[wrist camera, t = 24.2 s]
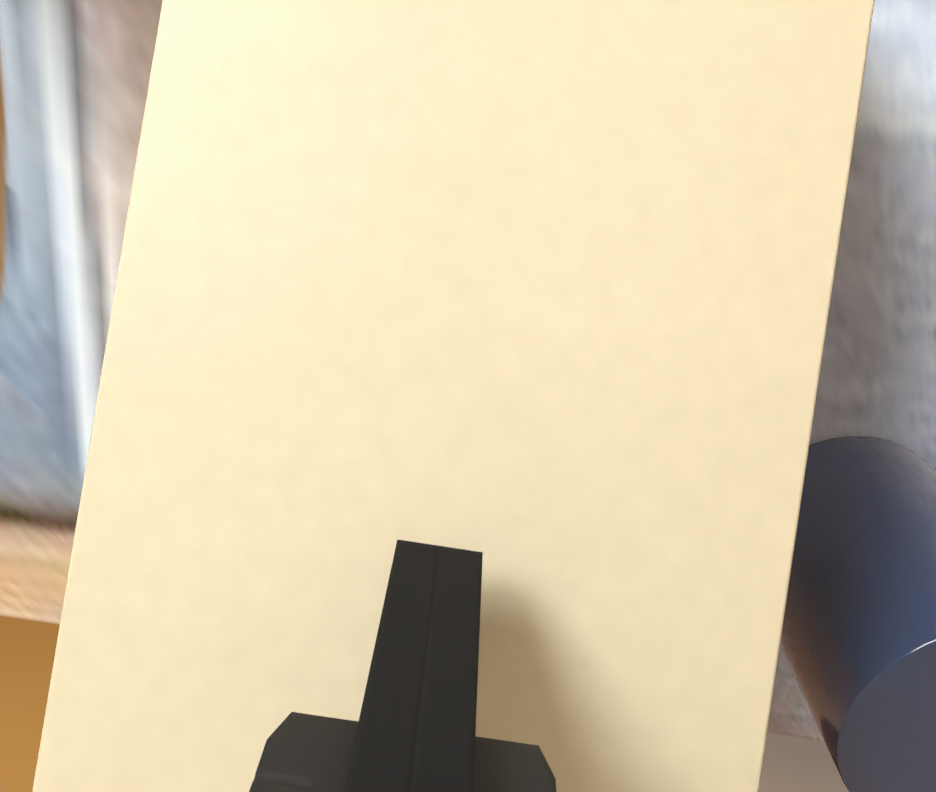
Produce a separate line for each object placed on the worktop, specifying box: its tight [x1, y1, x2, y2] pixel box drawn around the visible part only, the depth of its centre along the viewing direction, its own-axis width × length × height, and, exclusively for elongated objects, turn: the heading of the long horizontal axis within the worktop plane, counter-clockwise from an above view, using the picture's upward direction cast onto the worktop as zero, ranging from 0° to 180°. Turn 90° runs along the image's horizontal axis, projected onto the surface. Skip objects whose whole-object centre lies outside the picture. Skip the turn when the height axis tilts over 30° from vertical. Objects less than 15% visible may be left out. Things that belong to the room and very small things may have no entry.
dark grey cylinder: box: [780, 437, 936, 792], centre depth 25 cm, size 8×8×10 cm
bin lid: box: [33, 0, 875, 792], centre depth 15 cm, size 20×14×1 cm, turn 172°
